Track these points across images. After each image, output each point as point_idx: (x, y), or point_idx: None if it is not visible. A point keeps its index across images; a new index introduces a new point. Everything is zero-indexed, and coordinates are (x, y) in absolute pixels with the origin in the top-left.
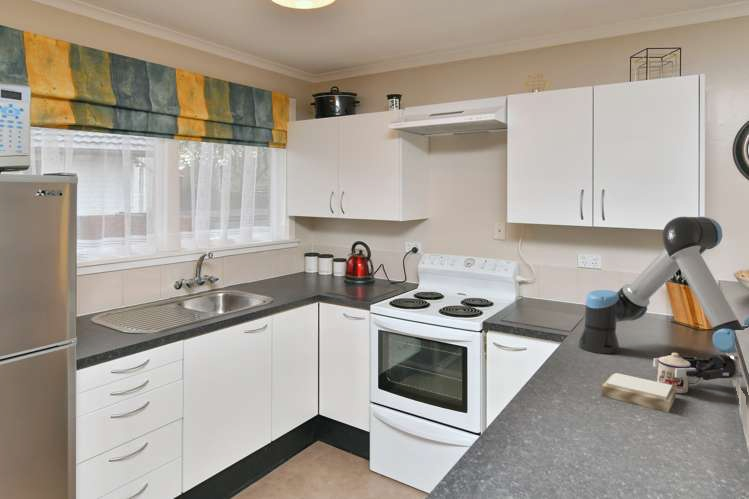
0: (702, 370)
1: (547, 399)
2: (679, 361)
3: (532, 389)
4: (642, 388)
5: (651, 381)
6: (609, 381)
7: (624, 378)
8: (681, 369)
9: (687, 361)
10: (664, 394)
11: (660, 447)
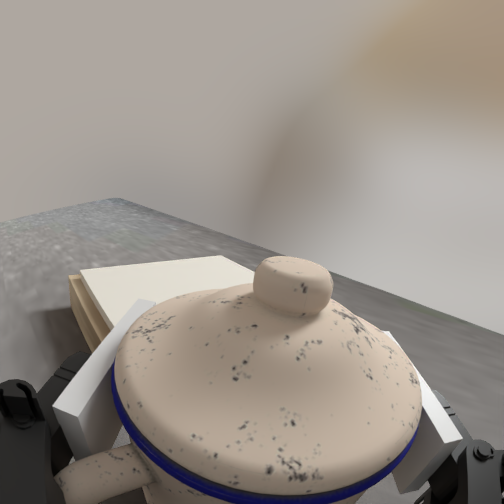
0: (2, 445)
1: (221, 245)
2: (189, 307)
3: (264, 250)
4: (155, 272)
5: None
6: (229, 261)
7: None
8: (124, 318)
9: (208, 422)
10: (90, 276)
11: (38, 240)
